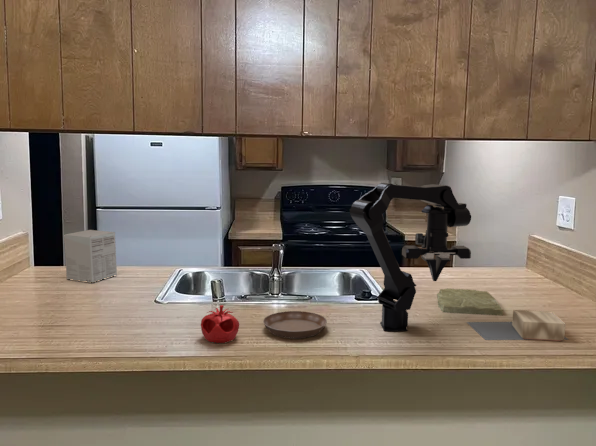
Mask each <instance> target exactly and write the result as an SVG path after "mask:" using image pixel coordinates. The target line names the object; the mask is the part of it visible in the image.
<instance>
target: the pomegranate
mask: <svg viewBox="0 0 596 446" xmlns="http://www.w3.org/2000/svg"><path fill="white" fill-rule="evenodd" d="M223 309H224V304H223V305H219V308H218V307H217V308H215V311H216V312H215V311H213V310H210V311H208V312H206V314H207V313H208V314H207V315H205V316H203V317H202V318H201V321H200V328H201V333H202V335H203V337H204V339H205V341H207V342H209V343H211V342H214V343H213V344H218V343H219V344H225V342H227V343H229V342H232V341H234V340H235V338H236V337H237V335H238V332H239V329H240V322H239V320H238V319H237V318H236V317H235V316H233V315H232V314H234V313H233V312H234V311H230V310H228V308H225V309H224V310H223ZM215 342H216V343H215Z"/></svg>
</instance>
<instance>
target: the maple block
mask: <svg viewBox="0 0 596 446" xmlns="http://www.w3.org/2000/svg"><path fill="white" fill-rule="evenodd" d="M511 322H512V326H513V327H514V328H515V329H516V331H517V332H518V333H519V335H520V336H521V337H522V338H523V339H534V340H533V341H554V342H555V341H557V342H562V341H565V340H564V337H566V336H565V335H566V334H565V333H566V325H567V324H566V323H565V322H564V321H563V320H562V319H561V318H560V317H559V316H558V315H557V314H555V313H554V311H544V310H543V311H542V310H527V309H525V310H523V309H522V310H521V309H513V310H512V320H511Z"/></svg>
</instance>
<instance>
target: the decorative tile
mask: <svg viewBox="0 0 596 446" xmlns="http://www.w3.org/2000/svg"><path fill="white" fill-rule="evenodd" d="M436 296H437V307H438V308H439V309H440V311H441V312H442V313H447V314H449V313H450V314H461V315H462V314H463V315H464V314H466V315H483V316H500V317H501V316H503V315H504V309H503V308H502V306H501V305H500V303H499V302H498V301H497V299H495V297H494V296H493V295H492V294H491V293H489V292H488V291H486V290H484V291H483V290H477V289H467V288H466V289H464V288H444V289H443V288H439V292H437V293H436Z"/></svg>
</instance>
